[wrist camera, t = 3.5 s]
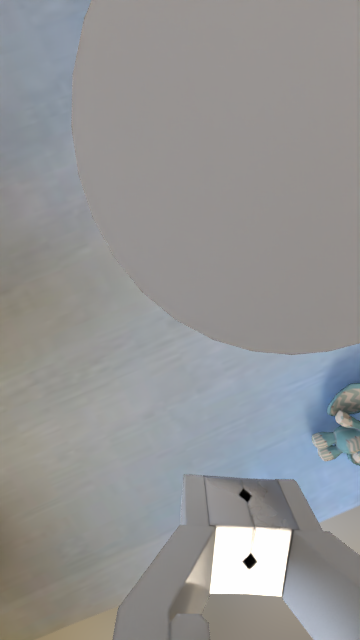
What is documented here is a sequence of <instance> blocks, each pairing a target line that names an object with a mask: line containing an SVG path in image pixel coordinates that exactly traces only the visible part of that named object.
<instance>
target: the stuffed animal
mask: <svg viewBox="0 0 360 640" xmlns="http://www.w3.org/2000/svg"><path fill="white" fill-rule="evenodd" d="M359 412H360V383H354V384H349V385H347V386H346V387H345V388H343V389H342V390H341V391H340V392H338V393H337V394H336V395H335V397H334V398H333V400H332V401H331V403H330V404H329V406H328V409H327V414H329V415H331V416H335V418H336V422H337V423H338V424H340V425H342V426H339V427H338V428H336V429H335V431H334V432H319V433H316V434H314V435H312V442H313V444H314V445H315V447H316V448H318V454H319V456H320V458H321V459H323V460H324V461H329V460H333V459H335V458H336V457H338V456H339V455H340V454H341V453H347V456H348V459H349V460H350V461H351V462H352V463H354V464H356V465H359V466H360V421H358V420H356V419H355V418H353V417H352V416H350V414H354V413H359ZM334 443H335V444H336V445H332V444H334Z"/></svg>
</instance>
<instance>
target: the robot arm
mask: <svg viewBox="0 0 360 640" xmlns="http://www.w3.org/2000/svg"><path fill="white" fill-rule="evenodd" d="M215 593H216V594H256V595H268V596H282V597H283V600H284V602H285V603H286V604H287V605H288V607H289V608H290V609H291V611H292V612H293V613H294V615H295V616H296V617H297V619H298V620H299V621H300V623H301V624H302V625H303V627H304V628H305V629H306V631H307V632H308V633H309V635H310V636H311V637H312V638H313V640H360V555H359V554H357V553H356V552H355V551H354V550H352V549H351V548H350V547H348V546H347V545H346V544H345V543H343V542H342V541H341V540H339V539H338V538H337V537H336V536H334V535H333V534H332V533H330V532H327V531H323V530H322V528H321V526H320V524H319V523H318V521H317V519H316V517H315V515H314V513H313V511H312V510H311V508H310V506H309V504H308V502H307V500H306V498H305V497H304V495H303V493H302V491H301V489H300V487H299V485H298V483H297V482H296V481H295V480H294V479H275V480H272V479H248V478H234V477H220V476H206V475H203V476H202V475H187V474H184V478H183V490H182V503H181V519H180V525H179V527H178V528H177V529H176V531H175V532H174V533H173V535H172V536H171V537H170V539H169V540H168V541H167V543H166V544H165V545H164V547H163V548H162V549H161V551H160V552H159V554H158V555H157V556H156V558H155V559H154V560H153V562H152V563H151V564H150V566H149V567H148V568H147V570H146V571H145V572H144V574H143V575H142V577H141V578H140V579H139V581H138V582H137V583H136V585H135V586H134V587H133V589H132V590H131V591H130V593H129V594H128V595H127V597H126V598H125V599H124V601H123V602H122V604H121V605H120V606H119V608H118V612H117V618H116V623H115V629H114V635H113V640H210V632H209V623H208V622H207V620H206V619H205V618H204V617H203V616H202V613H203V611H204V608H205V606H206V603H207V601H208V599H209V597H210V594H215Z"/></svg>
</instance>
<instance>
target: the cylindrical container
mask: <svg viewBox="0 0 360 640" xmlns="http://www.w3.org/2000/svg"><path fill="white" fill-rule="evenodd" d="M72 134H73V141H74V147H75V154H76V161H77V167H78V174H79V177H80V180H81V183H82V186H83V190H84V193H85V196H86V199H87V202H88V205H89V208H90V211H91V214H92V217H93V219H94V221H95V223H96V225H97V226H98V228H99V230H100V232H101V234H102V236H103V238H104V240H105V241H106V243H107V245H108V247H109V249H110V251H111V253H112V255H113V256H114V258H115V259H116V260H117V262H118V263H119V264H120V265H121V267H122V268H123V269H124V270H125V272H126V273H127V274H128V275H129V276H130V278H131V279H132V280H133V281H134V283H135V284H136V285H137V286H138V288H139V289H140V290H141V291H142V292H143V293H144V294H145V295H146V296H148V297H149V298H150V299H151V300H152V301H154V302H155V303H156V304H157V305H158V306H160V307H161V308H162V309H163V310H164V311H166V312H167V313H168V314H169V315H170V316H172V317H173V318H174V319H175V320H177V321H179V322H181V323H183V324H184V325H186V326H188V327H190V328H192V329H194V330H196V331H198V332H200V333H201V334H203V335H205V336H207V337H209V338H211V339H213V340H216V341H219V342H223V343H226V344H229V345H233V346H236V347H240V348H243V349H246V350H250V351H255V352H266V353H277V354H288V355H295V354H306V353H317V352H328V351H332V350H336V349H340V348H344V347H347V346H351V345H355V344H359V343H360V0H92V1H91V3H90V6H89V8H88V11H87V13H86V15H85V18H84V22H83V27H82V32H81V37H80V42H79V46H78V51H77V56H76V61H75V66H74V71H73V85H72Z"/></svg>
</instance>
